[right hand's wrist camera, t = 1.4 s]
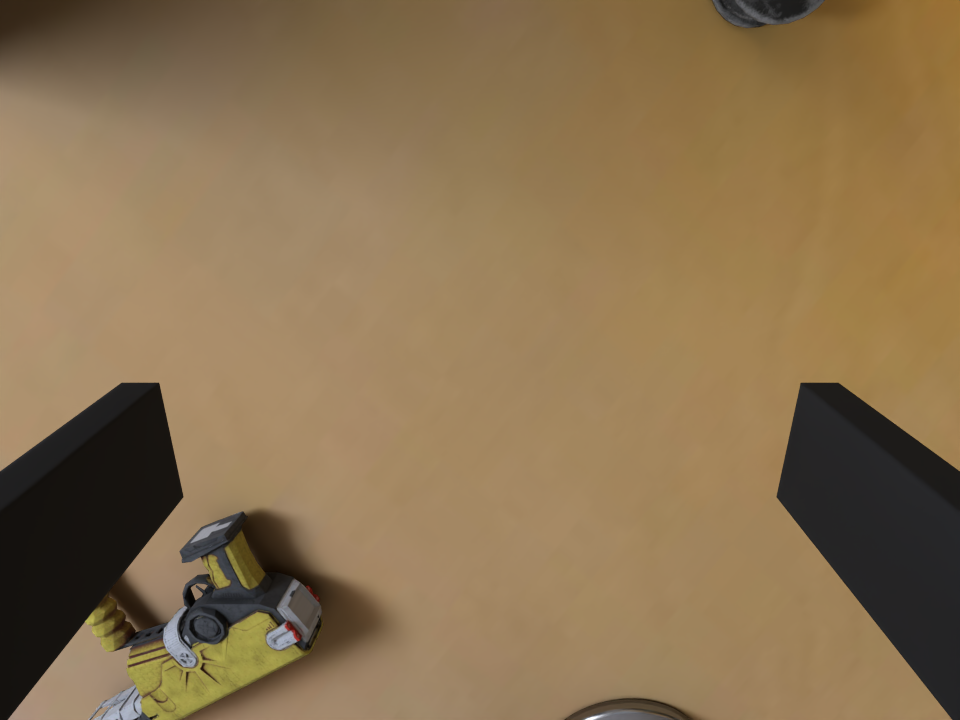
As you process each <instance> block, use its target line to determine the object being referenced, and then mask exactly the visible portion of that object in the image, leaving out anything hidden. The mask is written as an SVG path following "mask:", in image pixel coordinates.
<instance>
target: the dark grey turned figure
mask: <svg viewBox="0 0 960 720" xmlns="http://www.w3.org/2000/svg"><path fill="white" fill-rule="evenodd" d="M712 1H713V3H714V5H715V7H716V9H717V11H718V12H719V13H720V14H721V16H722V17H723V18H724V19H725V20H727V21H729V22H730V23H732V24H734V25H736V26H740V27H745V28H752V27H760V26H763V25H765V24H771V25H777V24H788V23H791V22H793V21H796V20H799V19H801V18H804V17H805V16H807V15H808V14H810V13H811V12H813V11H814V10H816V9H817V8H818V7H819V6H820V5H821V4H822V3H823V2H824V1H825V0H712Z"/></svg>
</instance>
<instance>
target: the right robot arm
mask: <svg viewBox="0 0 960 720" xmlns="http://www.w3.org/2000/svg"><path fill="white" fill-rule="evenodd" d="M182 498H183V492H182V488H181V483H180V478H179V474H178V469H177V464H176V460H175V455H174V450H173V446H172V441H171V436H170V431H169V427H168V422H167V417H166V413H165V408H164V403H163V399H162V394H161V389H160V384H159V383H121V384H119V385H118V386H117V387H115V388H114V389H113V390H111V391H110V392H108V393H107V394H106V395H104V396H103V397H102V398H100V399H99V400H97V401H96V402H95V403H93V404H92V405H91V406H89V407H88V408H87V409H85V410H84V411H82V412H81V413H80V414H78V415H77V416H76V417H74V418H73V419H71V420H70V421H69V422H67V423H66V424H65V425H63V426H62V427H60V428H59V429H58V430H56V431H55V432H54V433H52V434H51V435H50V436H48V437H47V438H45V439H44V440H43V441H41V442H40V443H39V444H37V445H36V446H34V447H33V448H32V449H30V450H29V451H28V452H26V453H25V454H23V455H22V456H21V457H19V458H18V459H17V460H15V461H14V462H13V463H11V464H10V465H8V466H7V467H6V468H4V469H3V470H2V471H0V720H8V719H9V717H10V716H11V715H12V713H13V712H14V711H15V710H16V708H17V707H18V706H19V705H20V703H21V702H22V701H23V700H24V698H25V697H26V696H27V694H28V693H29V692H30V691H31V689H32V688H33V687H34V686H35V684H36V683H37V682H38V681H39V679H40V678H41V677H42V675H43V674H44V673H45V672H46V670H47V669H48V668H49V667H50V665H51V664H52V663H53V662H54V660H55V659H56V658H57V656H58V655H59V654H60V653H61V651H62V650H63V649H64V648H65V646H66V645H67V644H68V643H69V641H70V640H71V639H72V637H73V636H74V635H75V634H76V632H77V631H78V630H79V629H80V627H81V626H82V625H83V624H84V622H85V621H86V620H87V619H88V617H89V616H90V615H91V613H92V612H93V611H94V610H95V608H96V607H97V606H98V605H99V603H100V602H101V601H102V600H103V598H104V597H105V596H106V594H107V593H108V592H109V591H110V589H111V588H112V587H113V586H114V584H115V583H116V582H117V581H118V579H119V578H120V577H121V575H122V574H123V573H124V572H125V570H126V569H127V568H128V567H129V565H130V564H131V563H132V562H133V560H134V559H135V558H136V556H137V555H138V554H139V553H140V551H141V550H142V549H143V548H144V546H145V545H146V544H147V543H148V541H149V540H150V539H151V537H152V536H153V535H154V534H155V532H156V531H157V530H158V529H159V527H160V526H161V525H162V524H163V522H164V521H165V520H166V518H167V517H168V516H169V515H170V513H171V512H172V511H173V510H174V508H175V507H176V506H177V505H178V503H179V502H180V501H181V499H182ZM777 498H778V499H779V501H780V502H781V503H782V505H783V506H784V507H785V508H786V510H787V511H788V512H789V513H790V515H791V516H792V517H793V518H794V520H795V521H796V522H797V524H798V525H799V526H800V527H801V529H802V530H803V531H804V532H805V534H806V535H807V536H808V537H809V539H810V540H811V541H812V543H813V544H814V545H815V546H816V548H817V549H818V550H819V551H820V553H821V554H822V555H823V556H824V558H825V559H826V560H827V562H828V563H829V564H830V565H831V567H832V568H833V569H834V570H835V572H836V573H837V574H838V575H839V577H840V578H841V579H842V581H843V582H844V583H845V584H846V586H847V587H848V588H849V589H850V591H851V592H852V593H853V594H854V596H855V597H856V598H857V600H858V601H859V602H860V603H861V605H862V606H863V607H864V608H865V610H866V611H867V612H868V613H869V615H870V616H871V617H872V619H873V620H874V621H875V622H876V624H877V625H878V626H879V627H880V629H881V630H882V631H883V632H884V634H885V635H886V636H887V637H888V639H889V640H890V641H891V643H892V644H893V645H894V646H895V648H896V649H897V650H898V651H899V653H900V654H901V655H902V656H903V658H904V659H905V660H906V662H907V663H908V664H909V665H910V667H911V668H912V669H913V670H914V672H915V673H916V674H917V675H918V677H919V678H920V679H921V681H922V682H923V683H924V684H925V686H926V687H927V688H928V689H929V691H930V692H931V693H932V694H933V696H934V697H935V698H936V700H937V701H938V702H939V703H940V705H941V706H942V707H943V708H944V710H945V711H946V712H947V713H948V715H949V716H950V717H951V719H952V720H960V471H958V470H957V469H956V468H954V467H953V466H952V465H950V464H949V463H947V462H946V461H945V460H943V459H942V458H941V457H939V456H938V455H937V454H935V453H934V452H932V451H931V450H930V449H928V448H927V447H926V446H924V445H923V444H921V443H920V442H919V441H917V440H916V439H915V438H913V437H912V436H910V435H909V434H908V433H906V432H905V431H904V430H902V429H901V428H900V427H898V426H897V425H895V424H894V423H893V422H891V421H890V420H889V419H887V418H886V417H884V416H883V415H882V414H880V413H879V412H878V411H876V410H875V409H873V408H872V407H871V406H869V405H868V404H867V403H865V402H864V401H863V400H861V399H860V398H858V397H857V396H856V395H854V394H853V393H852V392H850V391H849V390H847V389H846V388H845V387H843V386H842V385H841V384H839V383H801V384H800V389H799V394H798V399H797V403H796V408H795V413H794V417H793V422H792V427H791V431H790V436H789V441H788V446H787V450H786V455H785V460H784V464H783V469H782V474H781V478H780V483H779V488H778V492H777ZM565 720H690V719H689V718H688V717H686V716H685V715H684V714H682V713H681V712H679V711H677V710H676V709H673V708H671V707H669V706H666V705H663V704H660V703H657V702H652V701H647V700H637V699H623V700H613V701H607V702H602V703H599V704H595V705H592V706H589V707H587V708H584V709H582V710H580V711H578V712H576V713H574V714H572V715H571V716H569V717H568V718H566V719H565Z"/></svg>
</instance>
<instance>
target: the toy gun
mask: <svg viewBox="0 0 960 720" xmlns="http://www.w3.org/2000/svg"><path fill="white" fill-rule="evenodd" d="M247 518H248V516H246V515H245V513H244V512H240V513H237V514H234V515H232V516H229V517H226V518H224V519H221V520H218V521H216V522H213V523H211V524H208V525H206V526H203V527H201V528H200V529H199V531H198V532H197V533H196V534H195V535H194V536H193V537H192V538H191V539H190V540H189V541H188V543H187V544H186V545H185V546H184V547H183V548H182V549H181V550H180V554H181V556H182V563H185V562H192V561H194V560H195V559H197V558H199V557H201V559H202V561H203V564H204V566H205V567H206V568H207V570H208V571H209V574H210V575H209V574H204V575H197V576H196V577H195V578H193V579H192V580H191V581H189V582H188V583H187V584H186V585H185V588H184V591H183V599H184V605H185V606H184V607H183V608H181V609H179V610H178V612H177V613H176V614H175V615H174V617H173V618H172V619H171V620H170V622H168V623H165V624H161V625H158V626H155V627H152V628H149V629H145V630H142V631H139V632H136V630H135V629H134V627H133V626H132V625H131V623H130V622H127V621H125V617H126V615H125V614H124V613H123V612H122V611H121V610H117V602H116V601H115V600H114V599H112V598H109V597H108V595H109V592H108V593H107V594H106V596H105V597H104V598H103V600H102V601H101V602H100V603H99V605H98V606H97V607H96V608H95V610H94V611H93V612H92V613H91V615H90V616H89V617H88V619H87V620H86V621H85V622H86V623H87V624H88V625H91V626H92V632H93V633H94V635H95V636H96V637H101V645H102V647H103V648H104V649H105V650H106V652H113V651H116V650H120V649H123V648H126V647H129V646H132V645H133V646H132V647H131V649H130V654H129V659H128V660H127V665H128V668H127V673H128V675H129V677H130V678H131V679H132V680H133V681H134V683H135V685H134V686H133V687H131V688H129V689H127V690H124V691H121V692H120V693H119V694H118V695H116V696H114V697H113V698H111V699H109V700H105V701H103V702H102V703H101V704H100V706H99V707H98V708H97V709H96V711H95V712H94V713H93V714H92V716H91V717H90V718H89V719H88V720H91V719H92V718H93V716H94V715H95V714H96V713H97V712H98V710H99V709H100V708H103V707H106V706H108V705H110V706H109V707H108V709H107V710H106V711H105V712H104V714H102V715H101V716H99V717H97V718H95V719H94V720H181V719H183V718H185V717H186V716H188V715H190V714H192V713H194V712H196V711H198V710H200V709H202V708H204V707H206V706H208V705H210V704H212V703H214V702H216V701H218V700H220V699H222V698H224V697H226V696H228V695H229V694H231V693H233V692H235V691H237V690H239V689H241V688H243V687H245V686H247V685H249V684H251V683H253V682H255V681H257V680H259V679H261V678H263V677H265V676H267V675H269V674H271V673H273V672H274V671H276V670H278V669H280V668H282V667H284V666H286V665H288V664H290V663H292V662H294V661H296V660H298V659H300V658H302V657H304V656H306V655H308V654H310V653H311V651H312V650H313V647H314V645H315V642H316V640H317V638H318V636H319V634H320V632H321V630H322V627H323V621H322V617H321V614H322V610H321V605H320V604H319V601H320V598H319V597H318V595H316V594H313V591H312V588H311V587H310V586H308V585H307V586H304V585H303V584H301V583H300V582H299V581H297V580H295V578H294V577H291V576H288V575H285V574H282V573H278V572H276V573H265V572H264V571H263V570H262V568H261V567H260V566H259V565H258V563H257V562H256V560H255V558H254V556H253V554H252V553H251V551H250V549H249V547H248V544H247V542H246V539H245V537H244V534H243V532H242V526H241V525H242V524H243V523H244V521H245V520H246V519H247ZM197 583H199V584H206V585H208V586H207V588H206V589H205V591H204V590H203V589H201V588H200V587H198V586H197V585H196V588H198V589H199V590H200V591H201V592H202V593H203V595H202V597H201V598H199V599H197V600H195V598H194V596H193V593H192V591H191V587H192V586H193V585H195V584H197ZM135 632H136V633H135ZM112 705H113V708H111V709H110V707H111V706H112Z"/></svg>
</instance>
